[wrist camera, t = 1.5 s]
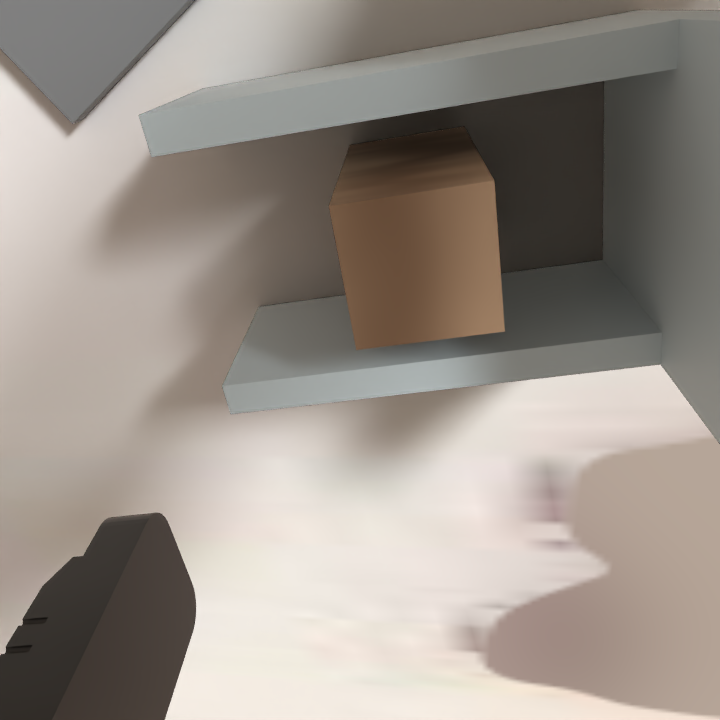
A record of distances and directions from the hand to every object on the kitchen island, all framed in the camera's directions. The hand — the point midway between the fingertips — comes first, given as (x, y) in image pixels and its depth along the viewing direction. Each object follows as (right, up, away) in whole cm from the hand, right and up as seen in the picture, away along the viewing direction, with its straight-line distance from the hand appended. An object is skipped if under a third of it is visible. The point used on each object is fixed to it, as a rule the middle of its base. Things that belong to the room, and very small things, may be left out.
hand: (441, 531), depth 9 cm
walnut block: (+1, +9, +17) cm, 20 cm away
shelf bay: (+1, +9, +17) cm, 20 cm away
